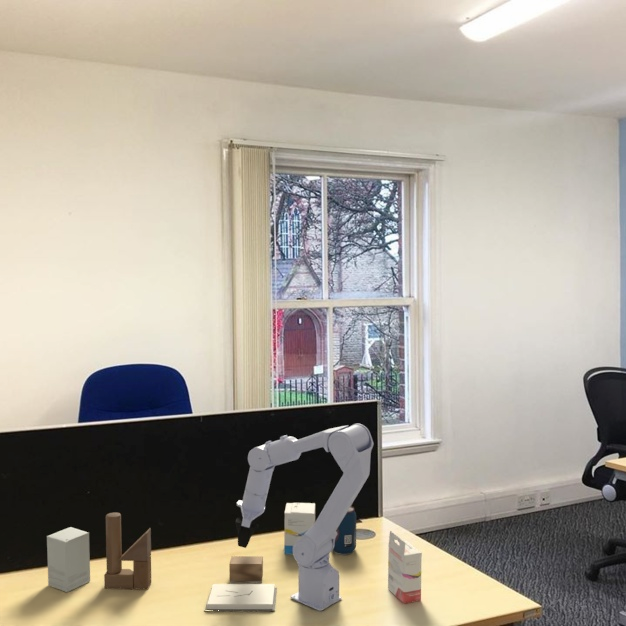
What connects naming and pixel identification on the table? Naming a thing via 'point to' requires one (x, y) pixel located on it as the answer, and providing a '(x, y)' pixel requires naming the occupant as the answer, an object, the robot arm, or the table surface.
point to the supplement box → (68, 559)
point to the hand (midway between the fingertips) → (245, 538)
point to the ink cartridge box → (404, 570)
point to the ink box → (297, 523)
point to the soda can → (346, 534)
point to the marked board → (242, 597)
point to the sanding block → (246, 569)
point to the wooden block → (126, 558)
